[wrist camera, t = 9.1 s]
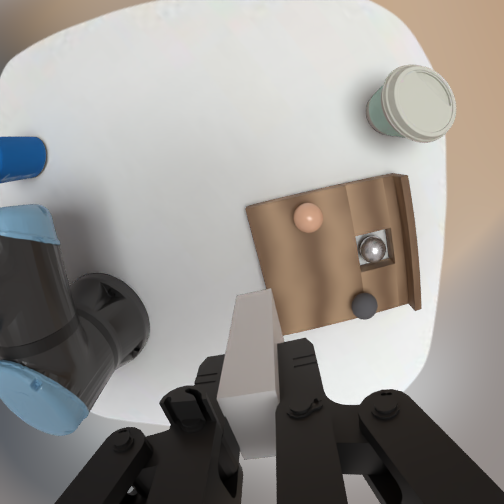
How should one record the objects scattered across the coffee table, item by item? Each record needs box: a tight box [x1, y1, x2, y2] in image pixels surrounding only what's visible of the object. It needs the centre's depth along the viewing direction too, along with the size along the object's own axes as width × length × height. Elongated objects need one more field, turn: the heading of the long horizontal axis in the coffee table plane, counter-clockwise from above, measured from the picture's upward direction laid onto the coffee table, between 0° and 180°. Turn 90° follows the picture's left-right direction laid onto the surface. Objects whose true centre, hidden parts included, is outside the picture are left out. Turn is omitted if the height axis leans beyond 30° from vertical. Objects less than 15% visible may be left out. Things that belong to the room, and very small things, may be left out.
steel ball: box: [360, 236, 386, 263], centre depth 40 cm, size 4×4×4 cm
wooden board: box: [246, 173, 421, 336], centre depth 40 cm, size 20×18×5 cm
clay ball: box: [293, 203, 323, 233], centre depth 37 cm, size 4×4×4 cm
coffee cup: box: [366, 65, 456, 143], centre depth 31 cm, size 8×9×12 cm
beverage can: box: [0, 137, 46, 183], centre depth 34 cm, size 6×6×12 cm
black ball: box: [352, 293, 378, 319], centre depth 40 cm, size 4×4×4 cm
